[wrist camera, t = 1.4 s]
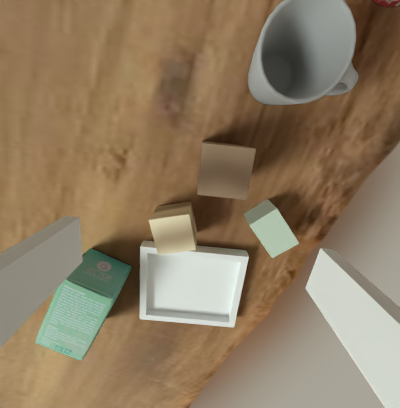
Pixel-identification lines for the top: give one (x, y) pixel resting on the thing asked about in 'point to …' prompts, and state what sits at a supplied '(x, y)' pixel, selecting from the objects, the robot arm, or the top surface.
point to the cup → (304, 53)
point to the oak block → (174, 228)
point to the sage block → (270, 228)
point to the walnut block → (225, 170)
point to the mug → (387, 3)
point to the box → (82, 304)
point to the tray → (191, 284)
